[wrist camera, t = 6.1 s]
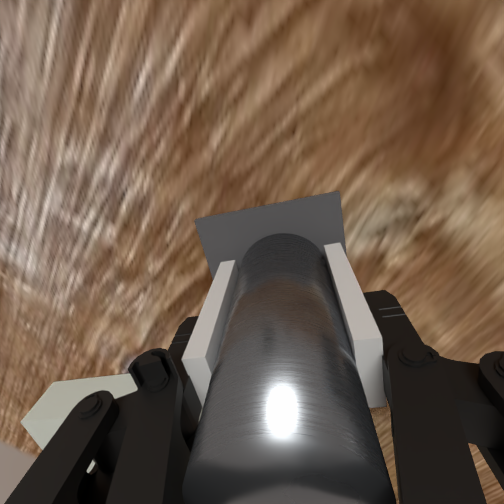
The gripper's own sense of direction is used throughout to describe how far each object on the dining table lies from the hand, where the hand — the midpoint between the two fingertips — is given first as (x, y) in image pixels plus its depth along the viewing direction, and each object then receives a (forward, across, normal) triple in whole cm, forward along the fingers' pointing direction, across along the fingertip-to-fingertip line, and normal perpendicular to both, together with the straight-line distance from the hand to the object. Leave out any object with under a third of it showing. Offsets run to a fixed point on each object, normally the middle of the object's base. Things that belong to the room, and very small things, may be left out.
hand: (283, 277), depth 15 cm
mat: (+1, 0, 0) cm, 1 cm away
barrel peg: (0, 0, 0) cm, 0 cm away
